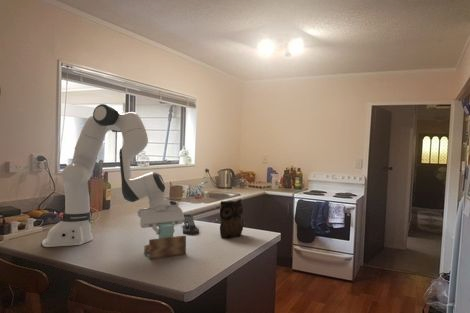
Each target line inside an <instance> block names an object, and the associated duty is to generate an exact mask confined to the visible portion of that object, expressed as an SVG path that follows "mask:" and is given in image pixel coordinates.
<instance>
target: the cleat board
mask: <svg viewBox="0 0 470 313" xmlns="http://www.w3.org/2000/svg"><path fill="white" fill-rule="evenodd" d="M143 247H144V248H143V254H144V255H145V256H146V257H147V258H148V259H149V260H156V259H162V258H164V259H165V258H169V257H176V256H181V255H182V256H183V255H186V254H187V235H178V236H173V237H168V238H160V239H159V238H152V239H149V241H148V244H144V246H143Z"/></svg>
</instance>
